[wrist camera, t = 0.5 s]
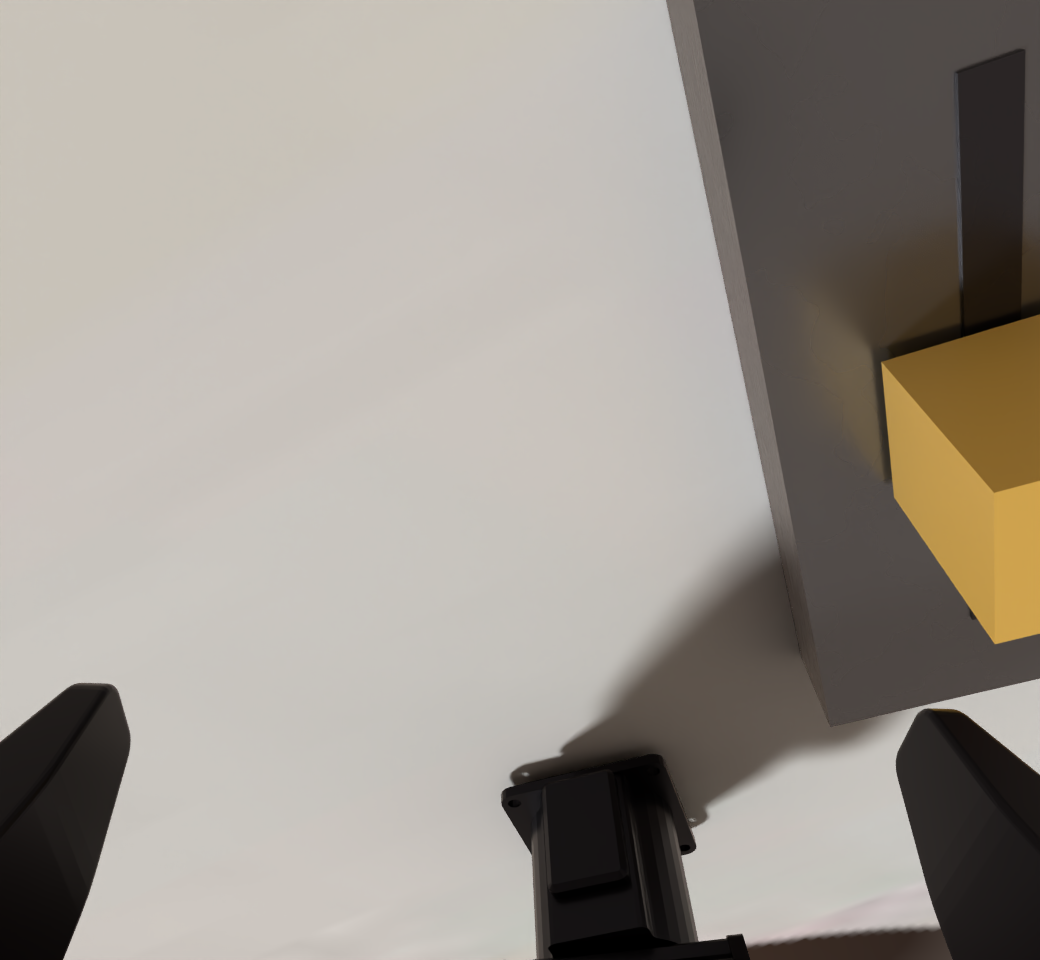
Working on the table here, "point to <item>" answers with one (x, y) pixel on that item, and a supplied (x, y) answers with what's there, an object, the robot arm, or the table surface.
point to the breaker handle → (974, 466)
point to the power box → (865, 291)
